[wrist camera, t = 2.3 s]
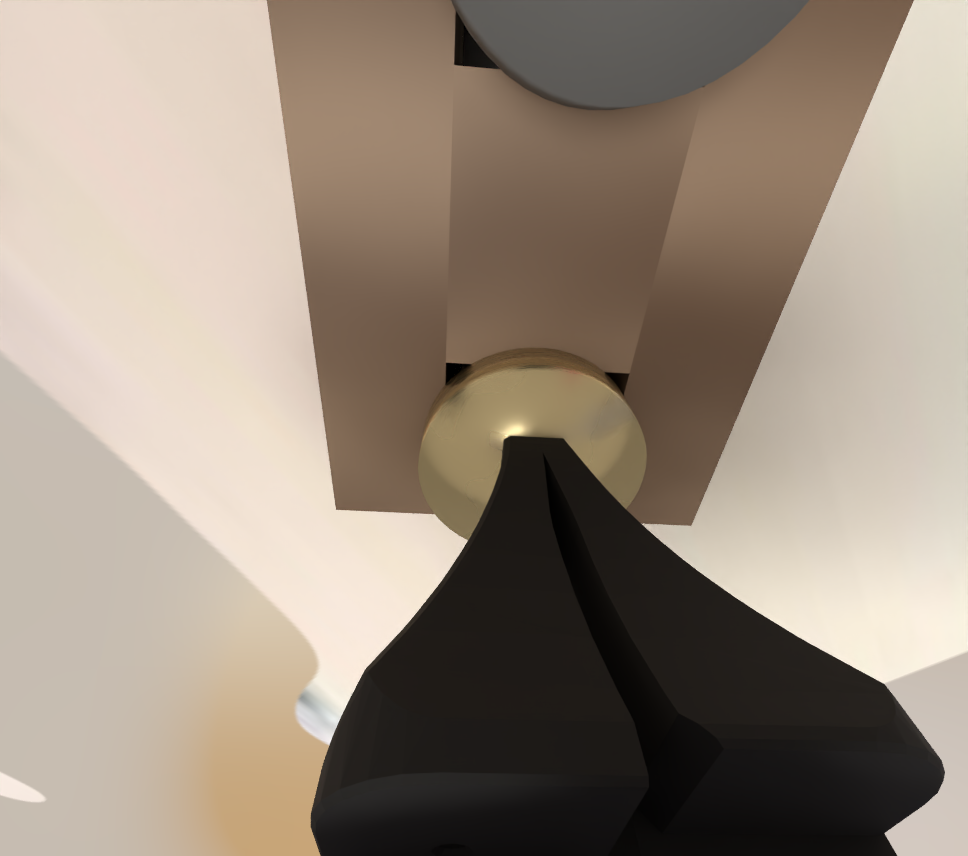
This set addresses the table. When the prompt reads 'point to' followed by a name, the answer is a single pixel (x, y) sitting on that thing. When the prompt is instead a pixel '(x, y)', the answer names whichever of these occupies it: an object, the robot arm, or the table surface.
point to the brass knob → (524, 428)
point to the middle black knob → (621, 44)
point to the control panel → (552, 226)
